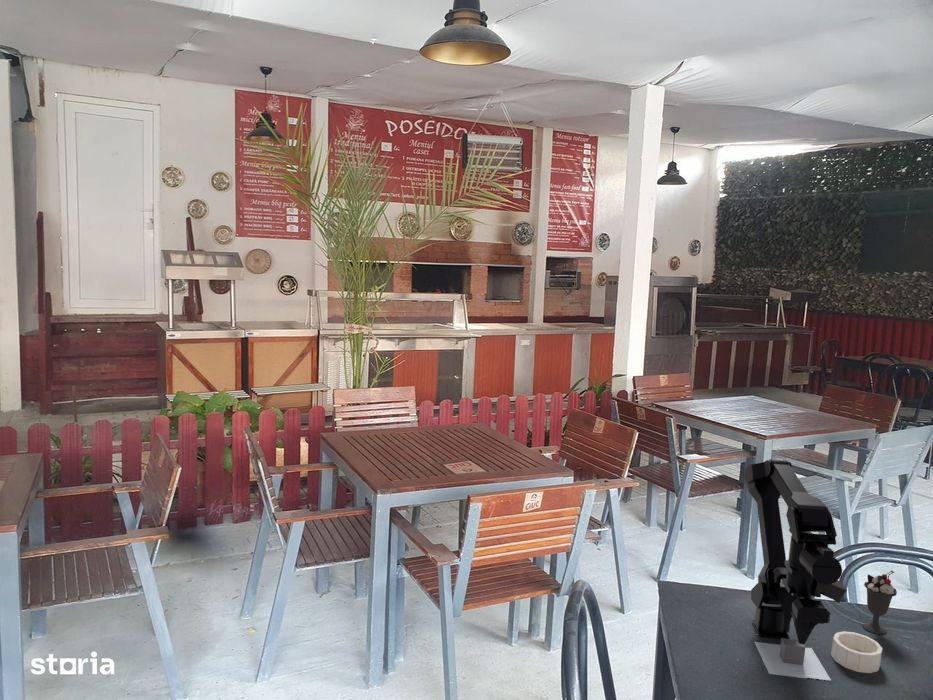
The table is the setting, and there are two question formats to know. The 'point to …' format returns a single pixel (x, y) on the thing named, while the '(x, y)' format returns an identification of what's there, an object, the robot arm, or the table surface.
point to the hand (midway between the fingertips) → (794, 631)
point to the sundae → (878, 600)
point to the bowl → (856, 652)
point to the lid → (791, 660)
